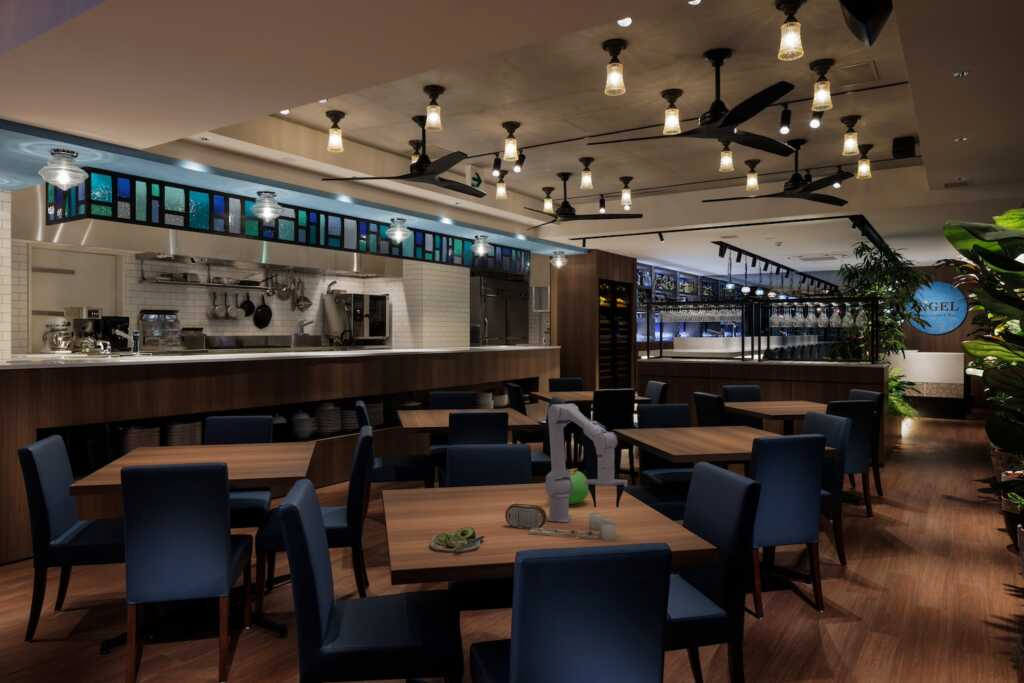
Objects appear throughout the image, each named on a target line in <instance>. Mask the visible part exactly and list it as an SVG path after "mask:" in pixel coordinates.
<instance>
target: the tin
mask: <svg viewBox="0 0 1024 683" xmlns="http://www.w3.org/2000/svg"><path fill="white" fill-rule="evenodd" d="M504 517H505V521H506V523H507V524H508V525H509V526H510V527H512V528H515V527H522V528H521V529H526V528H543V526H544V525H545V523H546V521H547V513H546V511H545V510H544V509H543V507H542V506H539V505H537V504H526V503H518V502H516V503H512V504H510V505H509V506H508V508H507V509H506V510H505V514H504Z"/></svg>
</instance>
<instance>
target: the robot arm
mask: <svg viewBox="0 0 1024 683" xmlns="http://www.w3.org/2000/svg"><path fill="white" fill-rule="evenodd" d="M547 420H548V427H549V428H548V429H549V446H550V448H549V449H550V463H551V467H550V468H551V470H550V471H549V472H548V473H547V474H546V476H545V482H544V490H545V493H546V494H547V496H548V497H549V504H548V505H549V507H548V509H549V511H548V513H549V514H548V517H547V518H546V521H547V522H555V521H556V522H558V523H568V522H569V520H570V519H571V517H572V515H571V514H569V510H570V508H569V506H570V504H569V500H568V499H569V496H570V493H571V492H572V491H573V482H572V479H571V474H570V473H569V472H568V471H566V470H567V469H566V468H567V467H566V455H565V454H566V452H565V436H564V434H565V433H564V428H565V427H566V426H567V425H568V424H570V423H571V422H573V423H574V424H576V425H577V426H579V427H580V428H582V429H583V431H582V432H583V434H584V435H585V436H587V437H588V438H589V439H590V440H591V441H592V442H593V445H594V447H595V450H596V451H595V453H596V455H597V478H593V479H592V478H589V479H588V478H587V479H585V486H588V489H589V493H590V495H591V498H592V502H593V507H594V508H597V499H596V498H597V497H596V486H597V487H598V486H599V487H604V486H606V487H607V486H608V487H616V501H615V502H616V504H615V507H616V508H619V505H620V501H621V499H622V495H623V493H624V490H625V487H628V479H616V478H615V449H616V448H617V446H618V443H619V441H618V440H619V439H618V436H617V435H616V433H615V432H613V431H607V430H606V429H605V428H604V427H602V426H601V425H600V424H599V423H598V421H596V420H589V419H588V418H587V417H586V416H585V415H584V414H583V412H581V411H580V409H579V406H577V405H576V404H575V403H574V402H572V403H561V404H560V403H559V404H555V403H553V404H551V405H550V407H548V409H547ZM556 478H559V479H556Z"/></svg>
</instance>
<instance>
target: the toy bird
mask: <svg viewBox="0 0 1024 683" xmlns="http://www.w3.org/2000/svg"><path fill="white" fill-rule="evenodd" d="M566 471H568V472H569V473H570V474H571V479H572V482H573V491H572V492H571V493H570V496H569V499H568V500H569V505H575V504H579V503H580V502H582V501H584V500H585V499H587V497H588V494H589V493H590V491H589V489H588V486H585V479H588V478H587V476H586V475H585V474H584V473H583V472H582V471H579V470H578V468H570V469H566ZM556 479H559V478H556Z"/></svg>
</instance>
